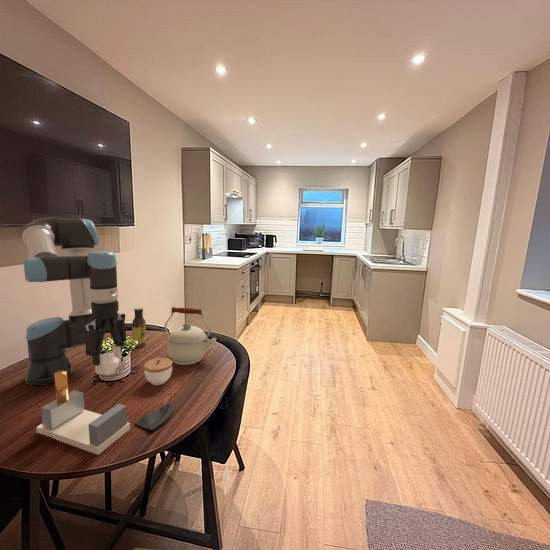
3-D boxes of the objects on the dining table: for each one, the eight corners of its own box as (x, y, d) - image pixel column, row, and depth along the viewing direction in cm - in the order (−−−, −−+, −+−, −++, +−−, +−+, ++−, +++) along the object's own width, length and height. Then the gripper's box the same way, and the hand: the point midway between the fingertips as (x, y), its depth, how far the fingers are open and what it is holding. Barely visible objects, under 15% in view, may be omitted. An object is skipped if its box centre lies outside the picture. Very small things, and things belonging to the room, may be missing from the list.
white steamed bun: (105, 378, 91) (103, 358, 89) (94, 373, 94) (92, 353, 92) (123, 370, 96) (122, 351, 95) (113, 366, 99) (111, 346, 98)
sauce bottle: (143, 348, 147) (142, 310, 144) (130, 348, 146) (129, 310, 143) (148, 343, 153) (146, 307, 150) (136, 343, 153) (134, 306, 149)
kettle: (155, 365, 129) (154, 311, 125) (174, 348, 147) (173, 301, 143) (209, 370, 127) (209, 315, 123) (221, 352, 145) (222, 304, 141)
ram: (42, 426, 85) (37, 379, 82) (75, 407, 94) (71, 364, 92) (52, 429, 84) (47, 381, 81) (84, 409, 93) (81, 366, 91)
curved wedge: (184, 410, 99) (184, 406, 99) (152, 435, 87) (151, 430, 87) (166, 403, 103) (166, 399, 102) (133, 425, 91) (133, 421, 90)
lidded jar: (163, 390, 110) (162, 367, 109) (138, 386, 112) (137, 363, 111) (177, 376, 120) (177, 355, 119) (155, 373, 122) (154, 352, 121)
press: (36, 433, 85) (34, 408, 84) (72, 411, 96) (71, 389, 94) (98, 455, 78) (96, 428, 77) (130, 429, 88) (129, 405, 87)
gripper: (86, 309, 81) (91, 385, 84) (137, 295, 99) (139, 358, 102) (66, 306, 83) (72, 380, 87) (119, 293, 101) (122, 355, 105)
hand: (108, 368), depth 95 cm, fingers closed on white steamed bun, 6 cm apart
